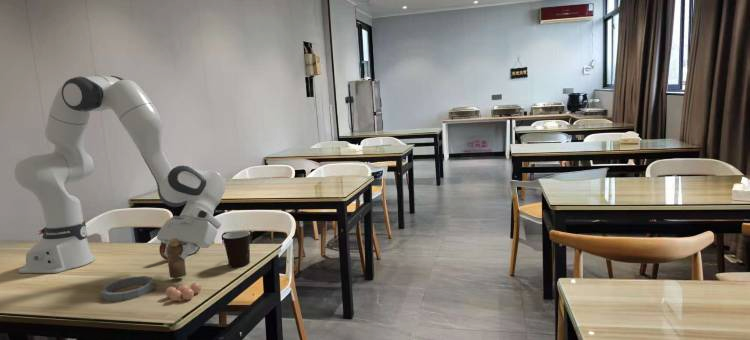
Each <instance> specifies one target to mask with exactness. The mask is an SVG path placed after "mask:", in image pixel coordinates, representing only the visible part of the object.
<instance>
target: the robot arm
mask: <svg viewBox="0 0 750 340" xmlns="http://www.w3.org/2000/svg"><path fill="white" fill-rule="evenodd" d="M106 110H112V111H113V112H114V114H115V116H116V117H117V118H118V120H119V122H120V123H121V125H122V127H123V128H124V130H125V131H126V132H127V134H128V135H129V137H130V138H131V140H132V142H134V145H135V147H136V148H137V150H138V151H139V153H140V154H141V157H142V158H143V160H144V162H145V164H146V166H147V168H148V169H149V171H150V174H152V176H153V178H154V180H155V182H156V183H155V184H156V187H157V194H158V197H159V199H160V201H161V202H162V203H163V204H164V205H167V206H169V207H172V208H177V207H181V206H184V207H183V209H182V211H181V213H180V214H179V215H173V216H172V217H170V218H169V219H167V220H166V221H165V223H163V225H162V226H161V228H160V229H159V231H158V232H157V234H156V239H157V240H158V241H159V242H160V243H162V242H163V243H166V248H167V247H168V246H170V245H169V242H170V240H171V239H174V238H175V239H178V241H179V244H181V245H184V246H187V247H186V248H185V249H184V250H183V251H180V254H179V255H178V257H179V258H181V259H184V260H186V259H187V257H188V256H187V255H188V254H189V253H190V252H191V251H193V250H194V248H195V247H200V249H201V248H202V249H209V248H210V247H211V246H212V245H213V243H214V241H215V239H216V237H217V234H218V229H219V230H220V227H221V225H222V223H221V222H220V220H218V219H217V218H216V217H215V216H214V213H215V210H216V208H217V206H219V204H220V202H221V200H222V198H223V195H224V194H225V191H226V187H227V181H226V179H225V178H224V176H223V175H222V174H221V173H220V172H218V171H216V170H213V169H206V170H203V169H202V170H201V169H196V168H192V167H190V166H188V165H177V166H175V167H172V166H171V164H170V162H169V160H168V158H167V156H166V155H165V154H166V153H164V150H163V147H162V132H163V121H162V118H161V115H160V113H159V112H158V109H157V108H156V106H155V105H154V103H153V102H152V101H151V99H150V98H149V96H148V95H147V94H146V92H145V91H144V89H143V88H141V87H140V86H139V85H138V84H137V83H136V82H135V81H134V80H131V79H124V78H123V77H122V78H121V77H119V76H115V75H110V76H109V75H99V74H96V75H89V76H88V75H87V76H76V77H72V78H70V79H67V80H66V81H65V82H64V83H63V85H61V86H60V87H59V89H58V90H57V92H56V94H55V96H54V98H53V101H52V104H51V105H50V109H49V113H48V118H47V122H46V127H45V131H44V134H45V137H46V139H47V140H48V141H49V142H50V143H51V144H52V145H54V150H53V152H51V153H43V154H36V155H32V156H29V157H26V158H23V159H21V160H19V161H18V162H17V164H16V165H15V167H14V173H13V174H14V178H15V180H16V182H17V183H18V185H19V186H21V187H22V188H24V189H26V190H28V191H30V192H31V193H32V194H33V195H34V196H35V197H36V198H37V200H38V202H39V204H40V206H41V208H42V213H43V218H44V222H45V227H43V228H42V229H41V230H38V235H42V236H41V237H42V238H41V239H40V240H39V241H37V242H36V244H34V245H33V246H32V247H31V248H30V249H29V250H28V251H27V253H26V256H25V264H24V265H22V266H21V267H19V269H18V273H19V274H56V273H60V272H64V271H67V270H72V269H75V268H79V267H82V266H86V265H88V264H90V263H92V262H94V261H95V256H94V254H93V252H92V249H91V247H90V244H89V242H88V241H89V240H88V238H87V237H88V231H87V224H86V221H85V220H84V215H83V210H82V209H83V208H82V202H81V200H80V199H79V198H78V197H77V196H75V195H72V194H70V193H68V192H67V190H66V187H65V184H70V183H74V182H79V181H81V180H84V179H85V178H87V177H89V176H91V175H92V174H93V172H94V169H95V168H94V167H95V164H94V163H95V162H94V160H93V158H92V157H91V155H90V154H89V153H88V152H86V149H85V136H86V133H87V128H88V123H89V120H90V115H91V112H100V111H101V112H103V111H106ZM164 255H165V256H166V257H167V249H166V251H165V253H164Z"/></svg>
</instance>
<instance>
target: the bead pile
mask: <svg viewBox="0 0 750 340" xmlns="http://www.w3.org/2000/svg"><path fill="white" fill-rule="evenodd" d="M201 290H202V285H201V284H200V283H199V282H193V283H192V284H190V287H189V286H188V285H186V284H182V285H180V286H179V287H178V288H176V287H175V286H169V287H167V288H166V289H165V296H166V297H167V298H169V299H170V300H171V301H173V302H178V301H180V300H182V298H183V299H184V300H185V301H186V300H187V301H189V300H191V299H193V298H194V296H195V294H196V295H197V294H199V293H200V292H201Z"/></svg>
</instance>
